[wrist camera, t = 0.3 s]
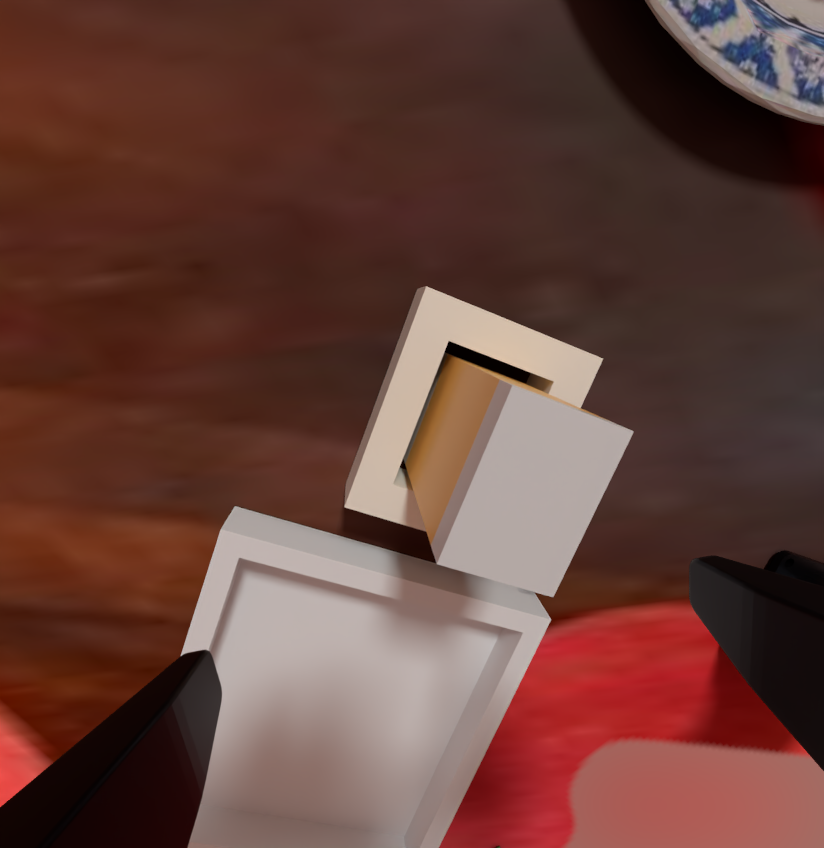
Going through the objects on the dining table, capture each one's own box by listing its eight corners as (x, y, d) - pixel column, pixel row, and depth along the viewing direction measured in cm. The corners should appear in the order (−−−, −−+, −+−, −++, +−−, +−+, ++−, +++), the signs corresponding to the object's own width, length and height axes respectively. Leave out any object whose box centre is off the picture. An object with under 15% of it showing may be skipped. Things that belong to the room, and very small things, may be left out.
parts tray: (533, 590, 23) (551, 619, 21) (413, 842, 26) (418, 889, 24) (235, 506, 20) (220, 529, 18) (141, 799, 23) (119, 848, 21)
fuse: (515, 379, 20) (633, 431, 12) (473, 480, 21) (553, 597, 13) (443, 351, 20) (512, 385, 11) (402, 457, 21) (436, 564, 12)
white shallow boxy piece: (574, 352, 20) (603, 358, 18) (495, 530, 22) (511, 557, 20) (417, 289, 19) (426, 286, 17) (345, 483, 21) (344, 507, 18)
